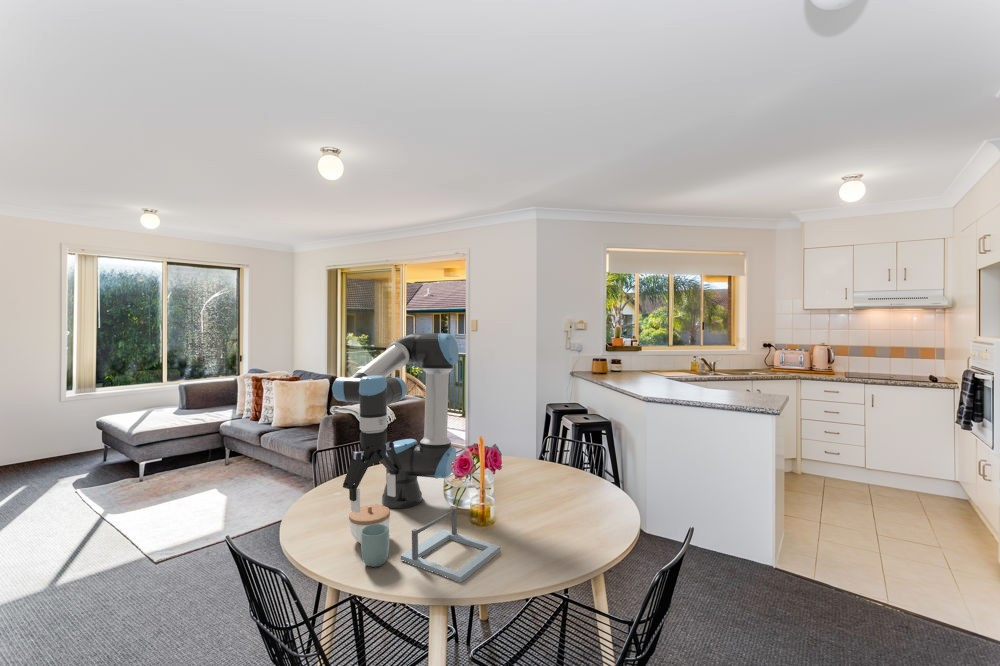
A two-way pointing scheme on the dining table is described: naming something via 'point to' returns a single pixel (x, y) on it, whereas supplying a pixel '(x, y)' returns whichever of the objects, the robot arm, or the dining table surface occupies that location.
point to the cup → (375, 544)
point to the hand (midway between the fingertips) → (374, 503)
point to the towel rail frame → (440, 538)
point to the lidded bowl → (368, 518)
